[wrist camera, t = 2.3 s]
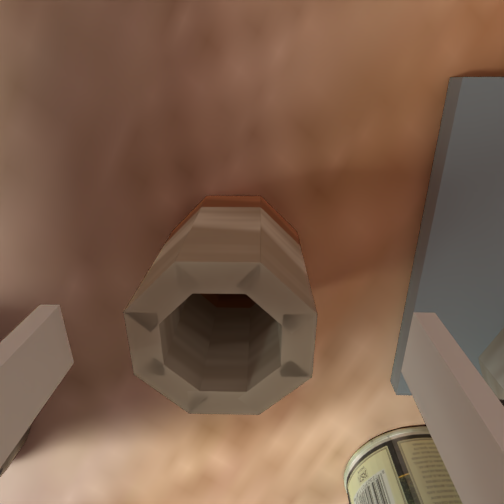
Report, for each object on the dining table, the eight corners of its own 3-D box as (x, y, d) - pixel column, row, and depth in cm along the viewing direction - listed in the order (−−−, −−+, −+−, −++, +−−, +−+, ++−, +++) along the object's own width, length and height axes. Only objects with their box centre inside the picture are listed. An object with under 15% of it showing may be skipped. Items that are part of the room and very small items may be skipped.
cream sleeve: (179, 305, 22) (140, 412, 15) (169, 195, 20) (114, 261, 12) (293, 307, 22) (308, 415, 15) (298, 196, 19) (321, 263, 12)
